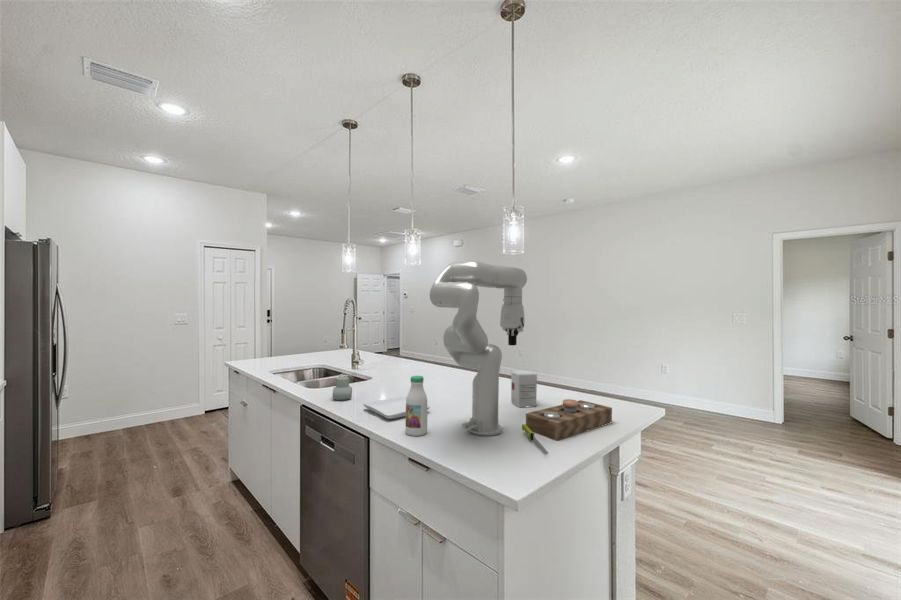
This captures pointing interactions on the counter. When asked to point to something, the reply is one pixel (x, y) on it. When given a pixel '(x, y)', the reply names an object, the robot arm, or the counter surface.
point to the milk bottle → (416, 408)
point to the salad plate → (389, 407)
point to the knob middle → (570, 406)
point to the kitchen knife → (533, 438)
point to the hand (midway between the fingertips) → (512, 345)
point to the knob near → (552, 415)
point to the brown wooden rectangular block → (568, 420)
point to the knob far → (587, 405)
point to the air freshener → (342, 389)
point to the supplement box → (523, 388)
